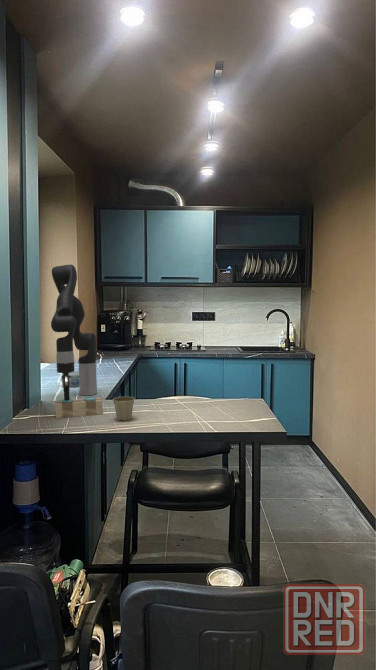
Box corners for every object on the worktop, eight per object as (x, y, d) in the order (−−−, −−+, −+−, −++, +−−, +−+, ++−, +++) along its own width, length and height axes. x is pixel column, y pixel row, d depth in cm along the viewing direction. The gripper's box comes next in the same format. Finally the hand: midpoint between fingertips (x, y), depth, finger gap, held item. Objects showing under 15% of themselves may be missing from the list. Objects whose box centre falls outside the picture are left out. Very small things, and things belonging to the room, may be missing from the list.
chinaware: (91, 383, 277) (90, 371, 276) (83, 388, 262) (82, 375, 261) (67, 383, 278) (67, 371, 278) (58, 388, 263) (57, 375, 263)
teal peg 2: (84, 411, 204) (83, 397, 204) (96, 410, 206) (95, 396, 205) (85, 414, 199) (84, 399, 199) (96, 413, 201) (96, 398, 200)
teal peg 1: (61, 413, 202) (60, 399, 201) (73, 412, 203) (72, 398, 203) (61, 416, 197) (61, 401, 196) (73, 415, 198) (73, 400, 198)
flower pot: (140, 417, 193) (139, 398, 192) (125, 423, 185) (124, 402, 184) (123, 415, 198) (123, 395, 197) (108, 420, 190) (107, 399, 190)
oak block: (56, 414, 202) (55, 401, 201) (101, 410, 207) (100, 397, 207) (56, 418, 195) (55, 404, 195) (102, 413, 201) (102, 400, 200)
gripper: (56, 360, 203) (58, 397, 205) (56, 363, 191) (58, 404, 192) (73, 359, 205) (75, 396, 207) (74, 362, 193) (76, 402, 194)
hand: (66, 400), depth 199 cm, fingers closed
